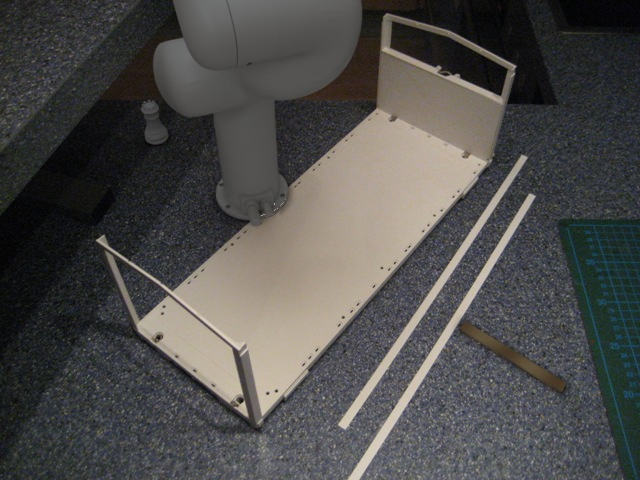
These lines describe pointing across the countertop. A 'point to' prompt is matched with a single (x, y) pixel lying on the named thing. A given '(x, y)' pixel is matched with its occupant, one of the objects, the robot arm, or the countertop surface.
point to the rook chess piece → (153, 124)
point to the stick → (513, 357)
